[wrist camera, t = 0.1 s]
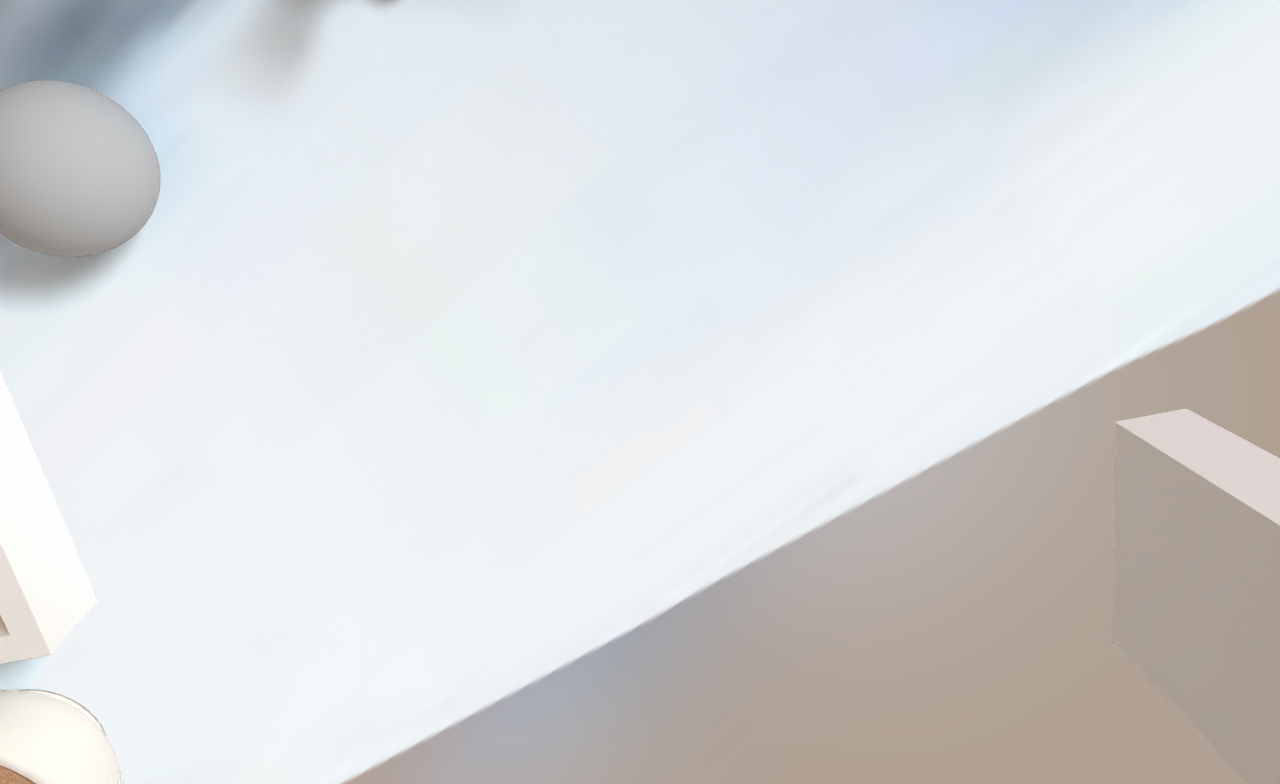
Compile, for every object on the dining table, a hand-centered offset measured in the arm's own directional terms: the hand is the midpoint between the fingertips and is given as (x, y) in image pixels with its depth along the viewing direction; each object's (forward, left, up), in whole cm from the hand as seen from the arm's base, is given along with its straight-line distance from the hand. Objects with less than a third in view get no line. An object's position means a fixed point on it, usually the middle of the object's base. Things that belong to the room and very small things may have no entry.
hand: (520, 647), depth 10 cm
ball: (-5, -16, -29) cm, 34 cm away
